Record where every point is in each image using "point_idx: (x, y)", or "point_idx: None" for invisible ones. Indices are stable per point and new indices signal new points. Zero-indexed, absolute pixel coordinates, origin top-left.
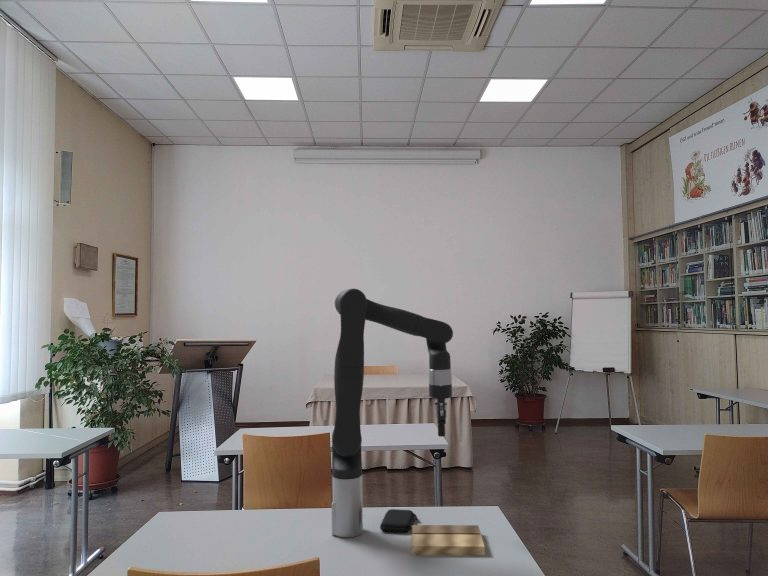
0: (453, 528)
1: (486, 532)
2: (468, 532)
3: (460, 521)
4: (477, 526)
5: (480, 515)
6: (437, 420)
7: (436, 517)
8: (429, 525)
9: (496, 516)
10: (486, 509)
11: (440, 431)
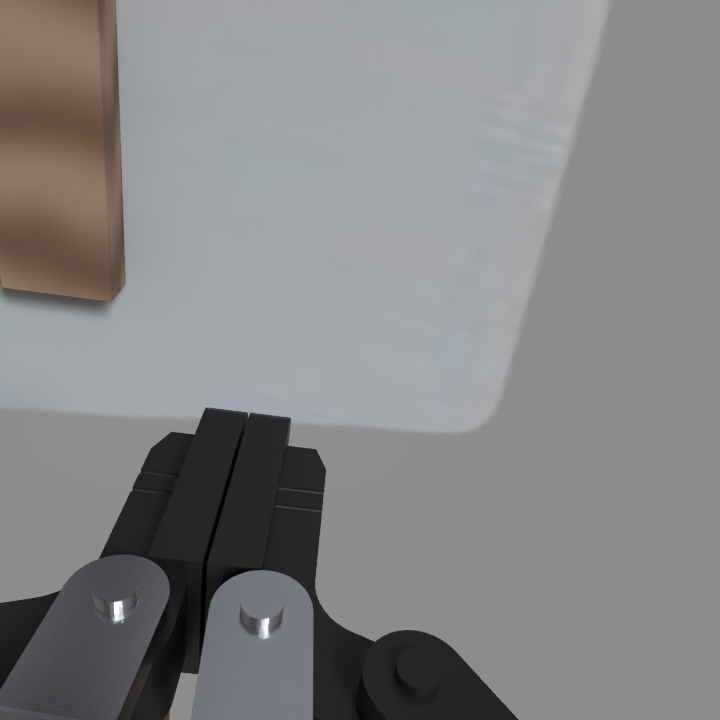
0: (53, 156)
1: (145, 324)
2: (4, 228)
3: (300, 233)
4: (93, 294)
5: (375, 353)
6: (206, 649)
7: (381, 101)
8: (92, 4)
9: (350, 419)
10: (455, 401)
11: (140, 492)
